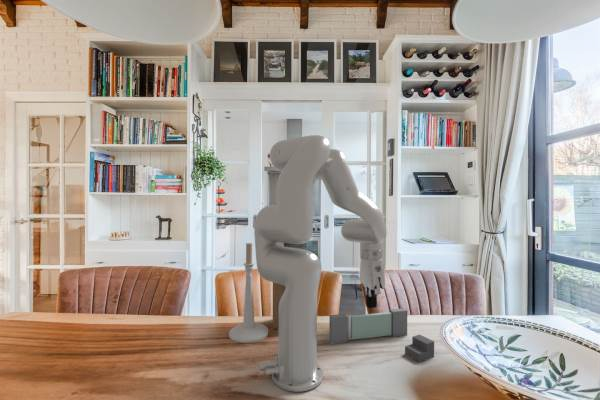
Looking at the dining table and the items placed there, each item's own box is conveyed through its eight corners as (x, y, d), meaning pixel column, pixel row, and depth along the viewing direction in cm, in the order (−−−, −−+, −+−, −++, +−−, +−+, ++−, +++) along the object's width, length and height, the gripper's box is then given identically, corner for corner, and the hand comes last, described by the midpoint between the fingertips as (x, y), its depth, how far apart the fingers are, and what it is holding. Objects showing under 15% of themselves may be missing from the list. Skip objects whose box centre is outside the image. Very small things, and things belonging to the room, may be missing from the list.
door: (347, 340, 93) (347, 317, 93) (345, 338, 95) (345, 316, 95) (391, 335, 97) (391, 313, 97) (389, 333, 98) (389, 311, 98)
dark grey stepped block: (419, 349, 89) (419, 334, 89) (434, 357, 84) (434, 341, 84) (404, 354, 86) (405, 338, 86) (419, 363, 82) (419, 346, 82)
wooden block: (302, 330, 101) (302, 271, 101) (272, 330, 101) (272, 270, 101) (302, 319, 111) (302, 264, 111) (275, 318, 111) (275, 264, 111)
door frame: (331, 343, 92) (331, 317, 92) (329, 340, 94) (329, 315, 94) (407, 335, 98) (407, 310, 98) (403, 332, 100) (403, 308, 100)
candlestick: (261, 344, 91) (262, 245, 91) (222, 340, 93) (222, 244, 93) (272, 326, 104) (273, 239, 104) (237, 324, 106) (238, 238, 106)
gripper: (392, 257, 97) (392, 314, 98) (370, 249, 112) (371, 298, 112) (371, 259, 95) (371, 316, 96) (352, 250, 110) (352, 300, 110)
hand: (371, 306), depth 104 cm, fingers closed
